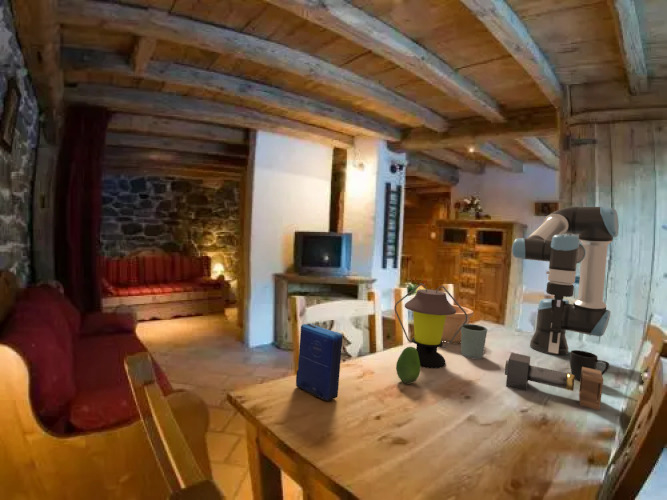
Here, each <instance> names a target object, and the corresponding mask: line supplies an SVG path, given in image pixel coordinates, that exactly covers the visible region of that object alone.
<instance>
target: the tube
mask: <svg viewBox="0 0 667 500" xmlns="http://www.w3.org/2000/svg"><path fill="white" fill-rule="evenodd" d="M508 361H509V359H506V360H505V366H504V376H507V371H508ZM527 380H528V382H529V381H530V382H534V383H538V384H541V385H545V386H549V387H554V388H558V389H563V390H567V391H570V392H574V388H575V375H573V374H572V373H568V372H562V371H559V370H558V371H557V370H553V369H549V368H543V367H539V366H535V365H529V367H528V377H527Z"/></svg>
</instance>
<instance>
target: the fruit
mask: <svg viewBox="0 0 667 500" xmlns="http://www.w3.org/2000/svg"><path fill="white" fill-rule="evenodd" d="M395 369H396V374H397V377H398V378H399V380H400V381H401V382H403V383H405V384H412V383H414V382H416V381H417V379H418V378H419V376H420V373H421V367H420V360H419V356H418V352H417V350H416V347H413V346H406V348H404V349H403V350H402V351H401V353H400V355H399V357H398V359H397V361H396V367H395Z"/></svg>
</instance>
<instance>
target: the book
mask: <svg viewBox="0 0 667 500" xmlns="http://www.w3.org/2000/svg"><path fill="white" fill-rule="evenodd" d="M342 348H343V334H342V333H341V332H339V331H334V330H331V329H327V328H324V327H320V326H317V325H315V324H312V323H307V324H306V323H303V324H301V326H300V336H299V349H298V350H299V351H298V365H297V366H298V367H297V371H296V375H295V386H296V387H297V388H298V389H301V390H303V391H304V392H306V393H308V394H310V395H312V396H315V397H317V398H319V399H321V400H323V401H325V400H326V401H329V402H330V401H333V400H334V399H336V398H338V397H339V396H338V395H339V382H340V372H341V358H342V357H341V356H342Z"/></svg>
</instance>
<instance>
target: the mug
mask: <svg viewBox="0 0 667 500" xmlns="http://www.w3.org/2000/svg"><path fill="white" fill-rule="evenodd" d="M598 358H599V357H598V355H596V354H595V353H592V352H590V351H585V350H577V349H573V350H571V351H570V356H569V365H570V374H573V375H575V379H574V381H575V380H576V381H578V382H580V380H581V372H582V367H586V368H591V369H595V370H597V366H598V365H597V364H598V363H604V365H605V367H604V369H603V371H601V374H602V376H603V375H605V373H606V372H607V371H608V370H609V368H610V362H608V361H606V360H602V359H598Z"/></svg>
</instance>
